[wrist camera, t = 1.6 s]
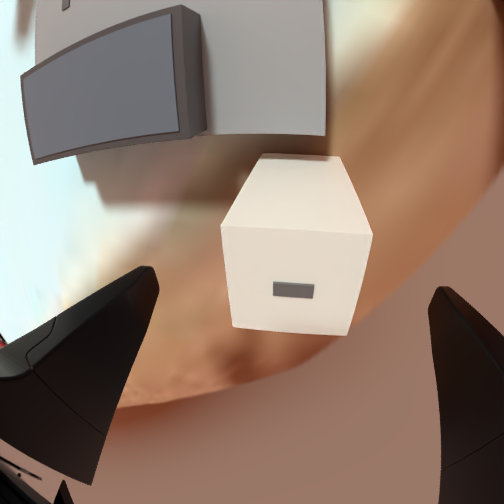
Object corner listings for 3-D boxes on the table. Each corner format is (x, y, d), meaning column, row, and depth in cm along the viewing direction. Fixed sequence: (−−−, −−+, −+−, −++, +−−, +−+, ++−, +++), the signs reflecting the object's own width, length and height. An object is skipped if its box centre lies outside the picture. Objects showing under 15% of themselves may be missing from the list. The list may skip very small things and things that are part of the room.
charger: (339, 156, 13) (373, 236, 7) (333, 224, 15) (346, 337, 9) (262, 153, 14) (219, 227, 7) (264, 220, 16) (232, 328, 10)
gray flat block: (200, 14, 8) (180, 3, 6) (207, 129, 11) (189, 139, 9) (45, 71, 10) (19, 76, 8) (56, 153, 13) (32, 165, 11)
